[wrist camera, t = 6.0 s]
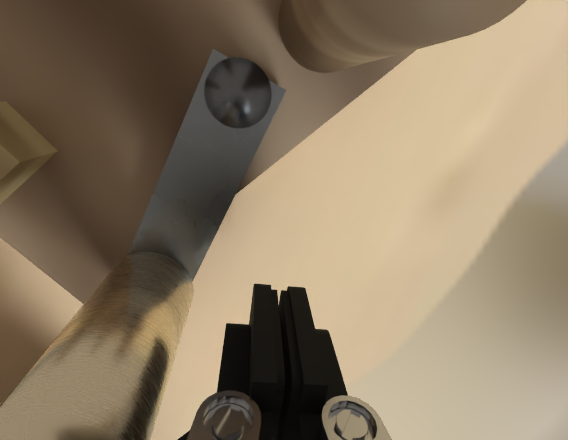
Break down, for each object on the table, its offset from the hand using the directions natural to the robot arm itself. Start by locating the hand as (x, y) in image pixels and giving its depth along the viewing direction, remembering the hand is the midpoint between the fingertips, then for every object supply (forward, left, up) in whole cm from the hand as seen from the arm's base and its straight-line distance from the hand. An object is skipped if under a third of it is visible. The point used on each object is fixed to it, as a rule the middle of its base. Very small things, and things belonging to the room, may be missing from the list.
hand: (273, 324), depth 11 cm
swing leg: (0, +4, -3) cm, 5 cm away
